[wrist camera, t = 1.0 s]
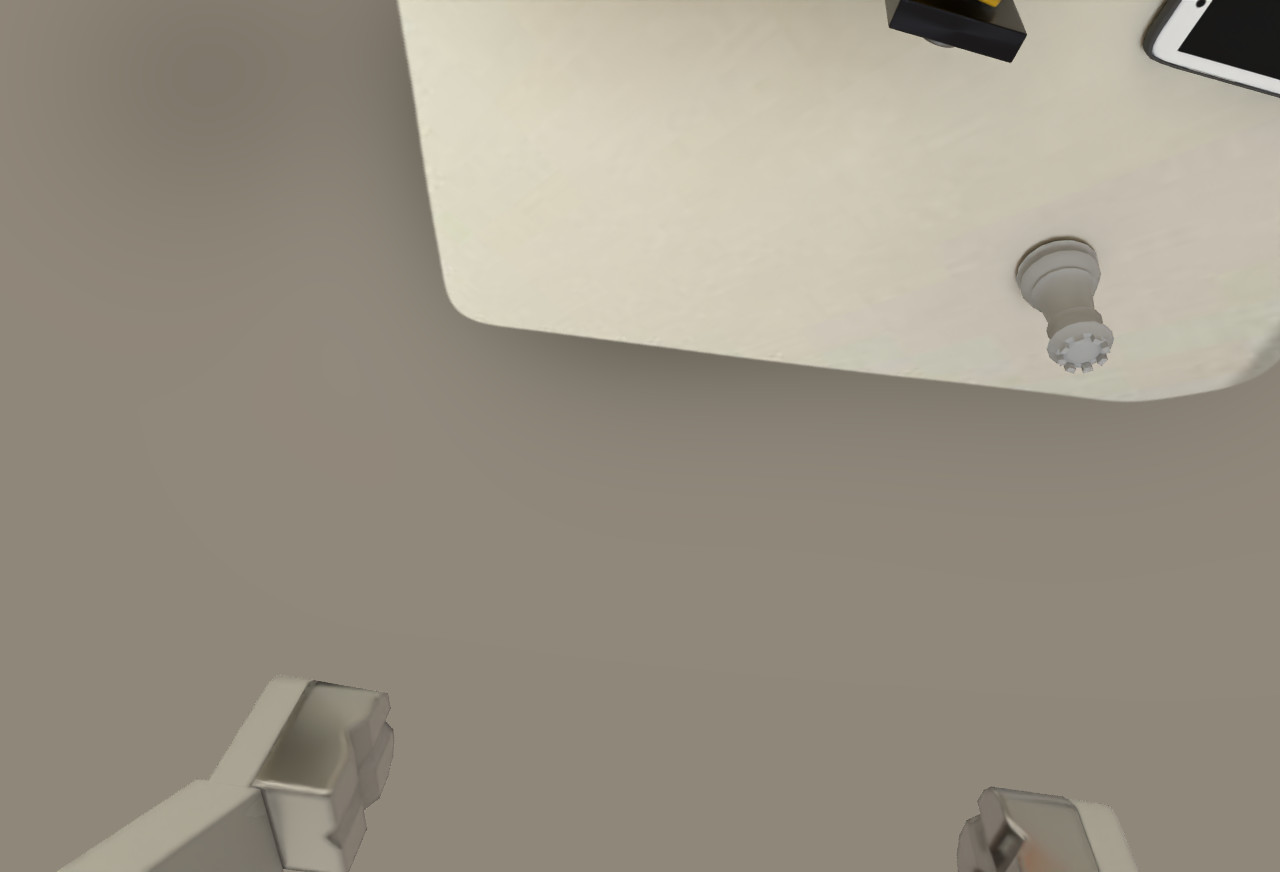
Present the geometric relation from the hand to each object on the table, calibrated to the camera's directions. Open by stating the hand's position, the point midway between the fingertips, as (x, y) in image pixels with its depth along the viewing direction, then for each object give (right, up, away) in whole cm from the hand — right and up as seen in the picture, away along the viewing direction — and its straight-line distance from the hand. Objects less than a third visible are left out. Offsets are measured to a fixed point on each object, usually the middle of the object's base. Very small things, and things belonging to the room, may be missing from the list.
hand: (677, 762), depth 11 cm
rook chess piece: (+24, +15, +38) cm, 48 cm away
